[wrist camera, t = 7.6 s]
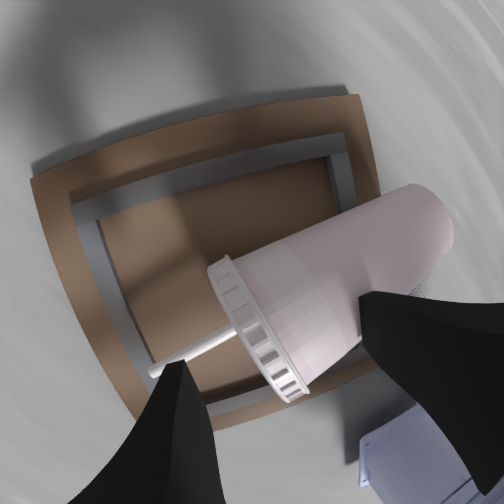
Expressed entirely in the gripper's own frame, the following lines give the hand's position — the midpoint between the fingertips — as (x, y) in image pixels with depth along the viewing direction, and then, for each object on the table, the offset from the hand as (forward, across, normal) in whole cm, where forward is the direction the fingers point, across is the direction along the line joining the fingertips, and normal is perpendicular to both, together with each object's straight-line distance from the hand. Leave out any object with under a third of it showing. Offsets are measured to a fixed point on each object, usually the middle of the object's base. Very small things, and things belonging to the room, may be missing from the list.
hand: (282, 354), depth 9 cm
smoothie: (+2, -9, -2) cm, 9 cm away
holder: (+6, 0, 0) cm, 7 cm away
